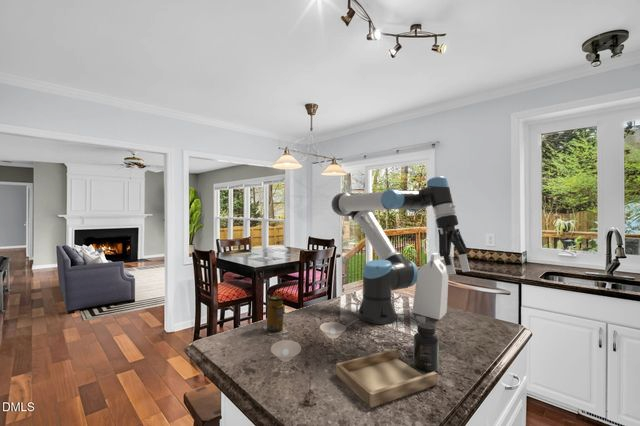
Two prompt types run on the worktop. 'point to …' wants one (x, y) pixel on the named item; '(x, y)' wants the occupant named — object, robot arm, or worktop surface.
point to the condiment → (275, 316)
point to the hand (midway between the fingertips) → (459, 273)
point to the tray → (382, 377)
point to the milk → (431, 289)
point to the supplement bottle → (425, 348)
